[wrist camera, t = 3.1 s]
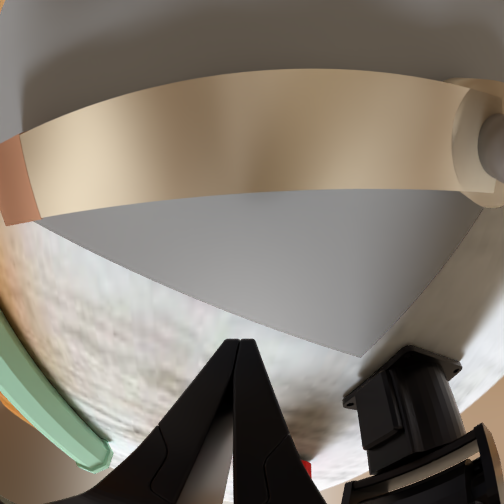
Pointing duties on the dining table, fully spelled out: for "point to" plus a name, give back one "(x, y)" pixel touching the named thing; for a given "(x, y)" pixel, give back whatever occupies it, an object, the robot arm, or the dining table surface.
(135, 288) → the dining table surface
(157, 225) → the base board
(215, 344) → the dining table surface
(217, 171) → the latch arm
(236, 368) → the robot arm
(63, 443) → the green octagonal rod
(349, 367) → the dining table surface
